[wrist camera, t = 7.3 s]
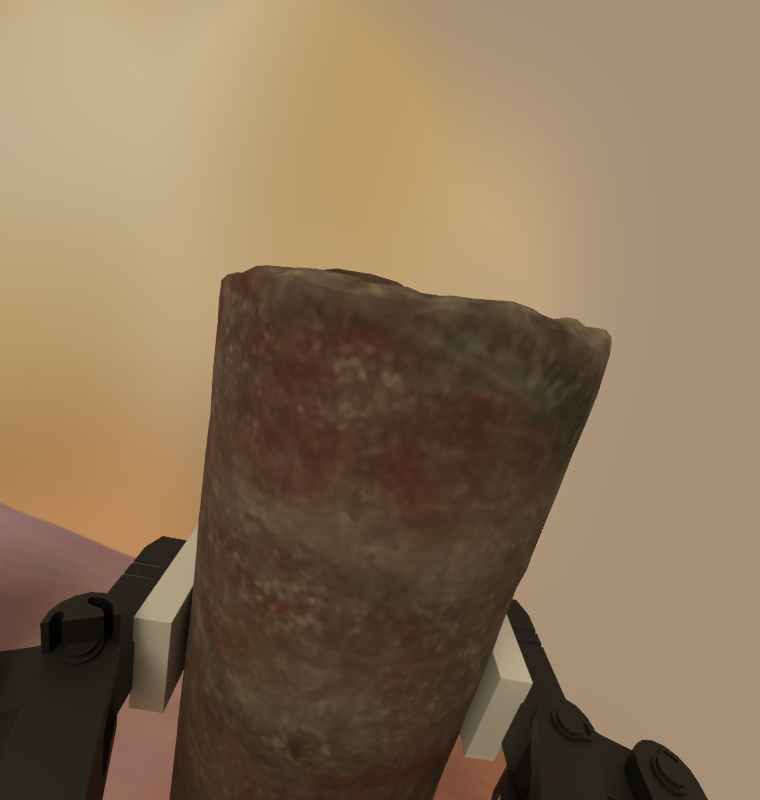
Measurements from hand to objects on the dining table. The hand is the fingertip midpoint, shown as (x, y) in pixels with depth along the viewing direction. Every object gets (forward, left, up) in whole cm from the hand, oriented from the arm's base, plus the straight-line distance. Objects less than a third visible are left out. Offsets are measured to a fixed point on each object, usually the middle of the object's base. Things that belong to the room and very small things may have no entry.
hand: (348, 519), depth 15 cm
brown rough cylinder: (+1, -5, -11) cm, 12 cm away
